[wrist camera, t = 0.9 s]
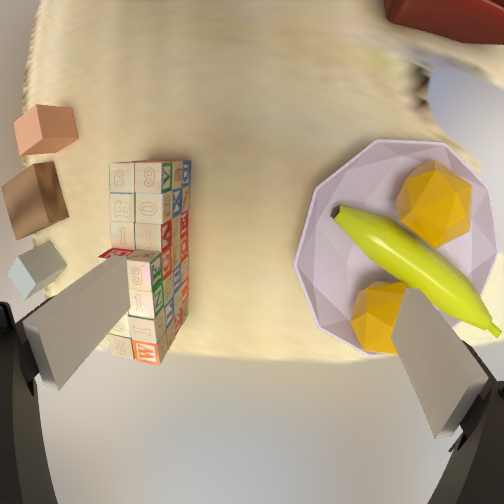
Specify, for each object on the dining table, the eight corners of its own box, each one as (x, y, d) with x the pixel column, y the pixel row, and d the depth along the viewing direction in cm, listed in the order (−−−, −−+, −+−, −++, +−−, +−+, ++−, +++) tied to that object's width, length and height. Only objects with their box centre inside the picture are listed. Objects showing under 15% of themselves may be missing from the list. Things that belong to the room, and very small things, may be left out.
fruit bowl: (250, 232, 38) (236, 262, 27) (414, 101, 31) (458, 85, 20) (368, 370, 43) (385, 422, 32) (501, 264, 36) (544, 293, 25)
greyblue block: (38, 257, 43) (7, 274, 35) (50, 240, 42) (17, 256, 34) (54, 280, 44) (24, 300, 36) (67, 265, 43) (36, 284, 35)
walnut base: (21, 182, 40) (1, 186, 35) (54, 161, 38) (33, 163, 33) (36, 232, 42) (16, 240, 37) (70, 216, 40) (49, 223, 36)
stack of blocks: (146, 159, 37) (92, 163, 25) (192, 160, 36) (151, 162, 25) (149, 309, 43) (110, 356, 32) (189, 315, 43) (159, 367, 31)
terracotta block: (49, 123, 36) (13, 123, 28) (71, 108, 35) (36, 104, 28) (55, 152, 37) (19, 155, 30) (78, 138, 36) (42, 138, 29)
